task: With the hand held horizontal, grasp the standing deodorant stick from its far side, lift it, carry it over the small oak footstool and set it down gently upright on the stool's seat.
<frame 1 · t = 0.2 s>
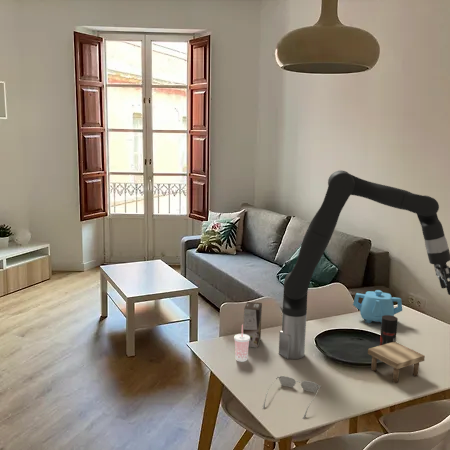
hand: (448, 291, 195), 30 cm above the table, tool tilted 20°, fingers open, 8 cm apart
deodorant: (386, 353, 212), on the table
coffee box: (251, 342, 220), on the table
teapot: (376, 322, 245), on the table
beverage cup: (241, 359, 204), on the table
eyeglasses: (290, 402, 175), on the table
stool: (394, 372, 196), on the table
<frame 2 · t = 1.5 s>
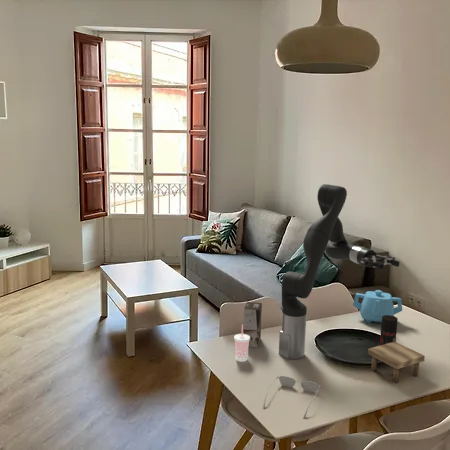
hand: (391, 265, 213), 34 cm above the table, tool horizontal, fingers open, 8 cm apart
nothing on the table moved.
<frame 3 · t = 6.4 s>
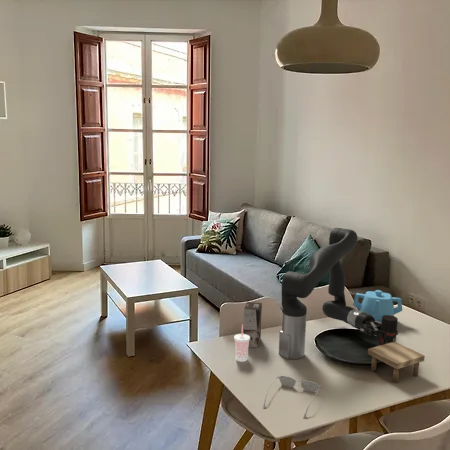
hand: (391, 334, 209), 9 cm above the table, tool horizontal, fingers closed on deodorant, 6 cm apart
deodorant: (386, 353, 212), on the table, touching gripper
everything else where it was.
when the fingers open (18 cm above the table, at t = 10.8 s): deodorant drops 1 cm, resting on stool.
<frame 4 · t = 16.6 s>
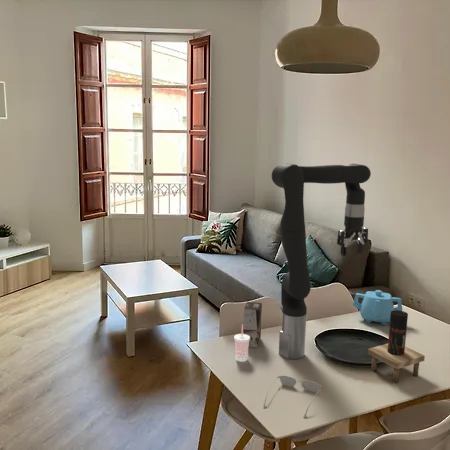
hand: (351, 254, 213), 38 cm above the table, tool pointing down, fingers open, 8 cm apart
deodorant: (395, 352, 194), point 8 cm above the table, touching stool
everything else where it was.
at the end: deodorant inside the target area on the stool (0.1 cm from its centre), point 7.8 cm above the stool's base; deodorant tilted 0°; the gripper is holding nothing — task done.
